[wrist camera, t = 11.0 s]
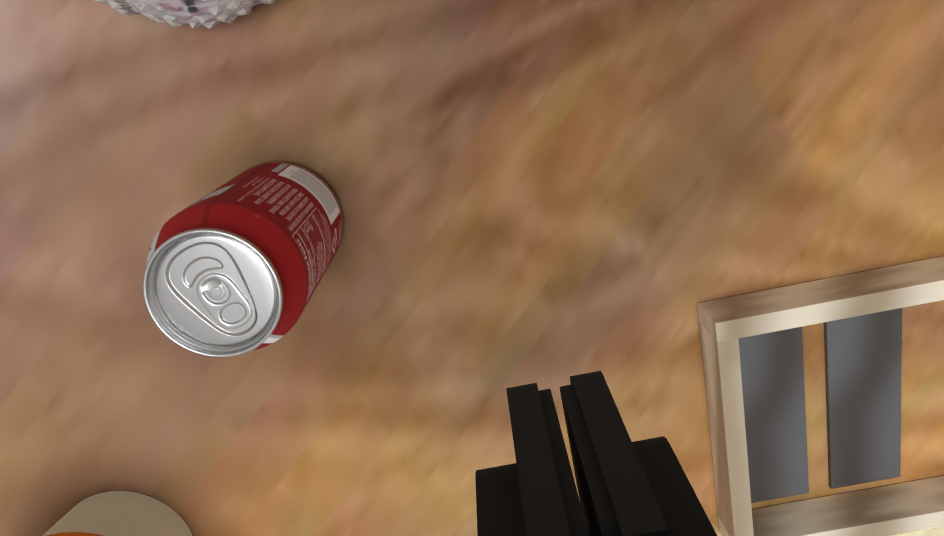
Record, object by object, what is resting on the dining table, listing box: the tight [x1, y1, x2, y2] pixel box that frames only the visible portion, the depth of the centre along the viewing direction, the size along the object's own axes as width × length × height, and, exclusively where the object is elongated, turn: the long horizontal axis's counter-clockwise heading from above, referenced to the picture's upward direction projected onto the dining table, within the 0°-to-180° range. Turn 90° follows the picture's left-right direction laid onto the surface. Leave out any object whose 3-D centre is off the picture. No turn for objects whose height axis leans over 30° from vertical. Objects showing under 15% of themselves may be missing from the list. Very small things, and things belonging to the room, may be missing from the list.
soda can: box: [143, 162, 343, 358], centre depth 32 cm, size 7×7×12 cm
